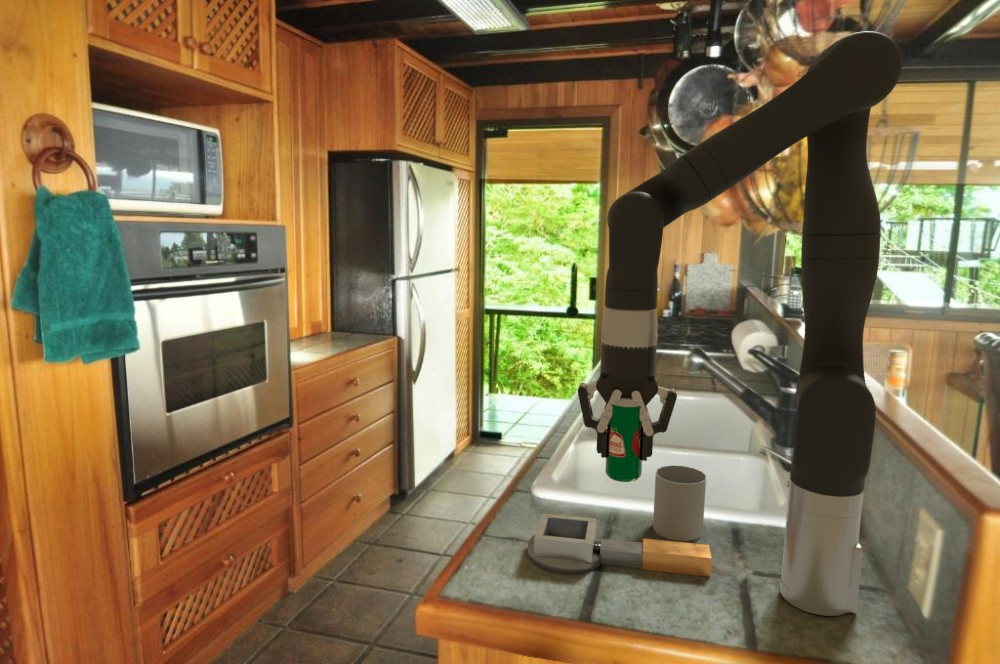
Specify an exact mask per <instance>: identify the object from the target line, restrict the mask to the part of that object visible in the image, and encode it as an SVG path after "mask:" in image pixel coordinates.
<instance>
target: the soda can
mask: <svg viewBox="0 0 1000 664" xmlns="http://www.w3.org/2000/svg"><path fill="white" fill-rule="evenodd" d="M611 405H612V406H613V408H612V417H611V419H610V421H609V423H608V425H607V427H606V429H607V448H606V458H605V470H604V471H605V474H606V476H608V477H609V478H610V479H611V480H613V481H615V482H621V483H631V482H635V481H637V480H638V479H639V478H640V477H641V476H642V468H643V461H642V446H643V432H644V429H643V426H642V422H641V421H640V408H641V406H639V405H638V404H637V403H634V400H633V399H632V398H629V397H626V398H621V397H620V400H619V402H616V403H614V404H611ZM609 411H610V410H609ZM641 413H643V412H641Z"/></svg>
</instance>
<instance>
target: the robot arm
mask: <svg viewBox="0 0 1000 664" xmlns="http://www.w3.org/2000/svg"><path fill="white" fill-rule="evenodd" d="M902 70H903V57H902V52H901V50H900V48H899V46H898V45H897V43H896V42H895V41H894V39H892V38H890V36H888V35H886V34H884V33H882V32H877V31H869V30H867V31H866V30H865V31H859V32H853V33H851V34H848V35H845V36H842V38H841V37H840V38H839V39H838V40H836V41H834V42H833V43H832V44H831V45H829V46H827V47H826V48H825V49H824V50H822V51H821V52H819V54H817V55H816V56H815V57H814V59H813V60H812V61H811V63H810V64H809V67H808V68H807V71H806V73H804V74H803V75H802V76H801V77H799V79H798V80H796V81H795V82H794V83H793V84H791V85H790V86H789V87H787V88H786V89H784V90H783V91H782V92H780V93H779V94H777V95H776V96H775V97H773V98H772V99H770V100H769V101H768V102H766V103H764V104H762V105H761V106H759V107H757V108H756V109H754V110H752V111H751V112H750V113H747V114H746V115H745V116H743V117H741V118H740V119H738V120H735V121H734V122H732V123H730V124H729V125H727V126H726V127H724V128H722V129H721V130H719V131H717V132H716V133H714V134H712V135H711V136H709V137H707V138H706V139H704V140H703V141H702V142H700V143H699V144H697V145H695V146H694V147H691V149H689V150H688V151H687V152H685V153H684V154H682V155H681V156H679V157H677V159H675V160H673V161H672V163H670V164H669V165H668V166H667V167H666V168H664V169H663V170H662V171H660V172H659V173H657V174H655V175H654V176H652V177H650V178H648V179H647V180H645V181H643V182H642V183H639V185H637V186H636V187H634V188H632V189H631V190H628V191H627V192H625V193H624V194H622V195H621V196H619V197H617V199H616V200H614V201H613V203H612V204H611V205H610V207H609V209H608V212H607V218H606V219H607V221H606V222H607V228H608V269H607V271H606V278H605V289H604V311H603V316H602V321H601V322H602V323H601V333H600V340H601V343H600V344H601V346H600V368H599V369H600V371H599V373H600V374H599V377H598V379H597V380H596V382H592V383H585V382H581V383H579V384H578V387H577V395H578V400H579V404H580V405H579V406H580V410H581V415H582V420H583V424H584V426H585V428H591V429H593V430H595V431H596V452H597V454H600V457H601V458H602V459H603V458H604V459H606V448H607V425H608V423H609V421H610V419H611V417H612V408H613V406H612V405H611V404H614V403H616V402H619V400H620V397H621V398H626V397H629V398H632V399H633V400H634V403H637V404H638V405H639V406H641V408H640V421H641V422H642V426H643V429H644V432H643V446H642V462H648V458H651V457H652V455H653V446H654V436H655V435H657V434H659V433H662V434H663V433H664V434H665V432H667V431H668V427H669V424H670V421H671V417H672V414H673V411H674V408H675V404H676V403H677V398H678V394H677V390H676V389H675V388H674V387H669V388H667V387H662V386H659V385H658V381H657V380H656V370H657V369H656V365H657V347H658V345H657V344H658V338H659V334H658V327H659V325H658V324H659V323H658V310H657V309H658V308H657V307H658V290H659V280H658V279H659V278H658V276H659V275H658V273H659V272H658V269H659V264H660V259H661V258H660V257H661V253H662V252H661V250H662V244H663V238H664V237H663V236H664V235H663V234H664V228H665V227H667V226H669V225H670V224H671V223H673V222H675V220H677V219H679V218H680V217H682V216H683V215H685V214H686V213H688V212H691V211H695V210H697V209H699V208H701V207H703V206H705V205H706V204H708V203H709V202H711V201H713V200H715V198H717V197H719V196H720V195H721V194H723V193H725V192H726V191H728V190H730V188H733V187H734V186H735V185H737V184H738V183H740V182H741V181H743V180H744V179H746V178H747V177H749V176H750V175H752V174H753V173H754V172H755V171H757V170H758V169H760V168H761V167H762V166H764V165H766V164H767V163H768V162H770V161H772V159H774V158H776V157H777V156H778V155H780V154H781V153H782V152H784V151H786V150H787V149H789V148H790V147H792V146H793V145H795V144H797V143H798V142H800V141H801V140H804V138H806V141H807V165H806V174H805V185H804V202H803V203H804V204H803V218H802V219H803V220H802V231H801V255H800V256H801V258H800V263H801V264H800V265H801V266H800V267H801V268H800V270H801V271H800V272H801V274H800V275H801V290H802V291H801V292H802V293H801V294H802V307H803V318H804V337H803V348H802V352H801V353H802V356H801V360H800V367H799V373H798V378H797V385H796V388H795V389H796V390H795V405H796V421H795V435H794V443H793V445H794V446H793V453H792V459H791V463H790V473H789V484H788V496H787V497H788V498H787V509H786V517H785V518H786V519H785V520H786V521H785V528H784V529H785V531H784V542H783V553H782V555H783V556H782V564H781V574H780V585H779V586H780V587H779V588H780V589H779V590H780V594H781V596H782V598H783V599H784V600H785V601H786V602H787V603H789V604H790V605H791V606H793V607H795V608H797V609H799V610H802V611H804V612H806V613H810V614H814V615H819V616H826V617H834V616H835V617H836V616H843V615H844V614H849V613H850V614H851V613H852V614H857V609H858V608H857V607H858V599H859V593H860V583H861V582H860V581H861V572H862V571H861V570H862V561H863V554H864V553H863V552H864V548H863V546H862V545H861V544H860V542H859V537H860V529H861V520H862V517H861V516H862V509H863V502H864V501H863V499H864V492H865V491H864V490H865V482H866V478H867V476H868V473H869V471H870V466H871V459H872V452H873V451H872V449H873V445H874V444H873V442H874V438H875V437H874V436H875V435H874V434H875V428H876V427H875V426H876V416H877V414H876V413H877V411H876V410H877V409H876V407H877V406H876V403H875V398H874V396H873V393H872V392H871V391H870V389H869V387H868V386H867V383H866V380H865V379H866V378H865V369H864V368H865V367H864V365H865V364H864V331H865V323H866V320H867V316H868V313H869V312H868V311H869V308H870V305H871V302H872V298H873V293H874V291H875V286H876V283H877V276H878V272H879V263H880V251H881V250H880V249H881V248H880V247H881V232H882V231H881V228H882V225H881V223H882V222H881V221H882V220H881V212H880V208H879V207H880V206H879V202H878V199H877V194H876V190H875V188H874V187H875V186H874V183H873V179H872V176H871V173H870V172H871V171H870V169H869V163H868V156H867V155H868V152H867V146H868V145H867V144H868V143H867V141H868V135H869V134H868V133H869V123H870V121H869V120H870V113H871V109H872V108H873V107H876V106H877V105H878V104H879V103H882V101H884V100H885V99H886V98H887V97H888V96H889V95H890V93H892V91H893V90H894V89H895V87H896V86H897V84H898V83H899V79H900V77H901V74H902ZM596 391H597V392H598V394H599V395H600V397H601V398H602V399H603V401H604V402H605V404H604V408H603V410H602V412H601V414H600V416H599V418H597V417H595V416H594V412H593V407H592V403H591V400H592V399H594V397H595V396H594V395H595V392H596ZM656 395H658V397H659V402H660V404H662V407H661V409H660V410H661V411H660V414H659V417H658V420H657V421H653V422H652V419H651V416H650V412H649V409H648V407H647V406H648V404H649V403H650V402H651V401H652V399H654V397H655V396H656ZM609 410H610V411H609ZM641 412H643V413H641Z"/></svg>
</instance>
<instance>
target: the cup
mask: <svg viewBox="0 0 1000 664" xmlns="http://www.w3.org/2000/svg"><path fill="white" fill-rule="evenodd" d="M654 478H655V481H654V497H653V498H654V500H653V502H654V503H653V515H652V516H653V521H652V529H653V530H654V532H656V534H658V535H660V536H661V537H663V538H664V539H665V538H667V539H670V540H673V541H678V542H683V541H684V542H689V541H694V540H698V539H700V538H701V537H702V536H703V534H704V533H703V532H704V516H705V505H706V504H705V503H706V502H705V501H706V488H707V487H706V485H707V474H705V473H704V472H703V471H702V470H699V469H697V468H694V467H690V466H684V465H674V464H671V465H667V466H666V465H665V466H661V467H659V468H657V469H656V471H655V477H654Z"/></svg>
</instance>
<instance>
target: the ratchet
mask: <svg viewBox="0 0 1000 664" xmlns="http://www.w3.org/2000/svg"><path fill="white" fill-rule="evenodd" d="M537 525H538V526H537V528H536V532H535V534H534V535H532V536H531V537H530V539H529V540H528V543H527V556H528V559H529V560H530V561H531V562H532V563H533V565H535V566H537V567H538V568H540V569H542V570H545V571H547V572H550V573H551V572H552V573H554V574H555V573H556V574H561V575H562V574H563V575H578V574H585V573H588V572H591V571H594V570H595V569H598V567H600V566H601V565H607V566H617V567H626V568H633V569H634V568H636V569H642V570H644V571H654V572H662V573H663V572H664V573H673V574H681V575H691V576H699V577H701V576H702V577H711V573H712V561H713V560H712V559H713V558H712V553H711V548H710V544H702V543H701V544H700V543H693V542H685V541H684V542H683V541H675V540H673V541H672V540H663V539H662V540H661V539H651V538H650V539H649V538H642V542H637V541H628V540H627V541H626V540H618V539H608V538H601V540H600V539H599V538H598V537H596V536H597V518H593V517H585V516H584V517H582V516H573V515H564V514H563V515H561V514H553V513H552V514H550V513H541V516H540V519H539V522H538V524H537Z"/></svg>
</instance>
